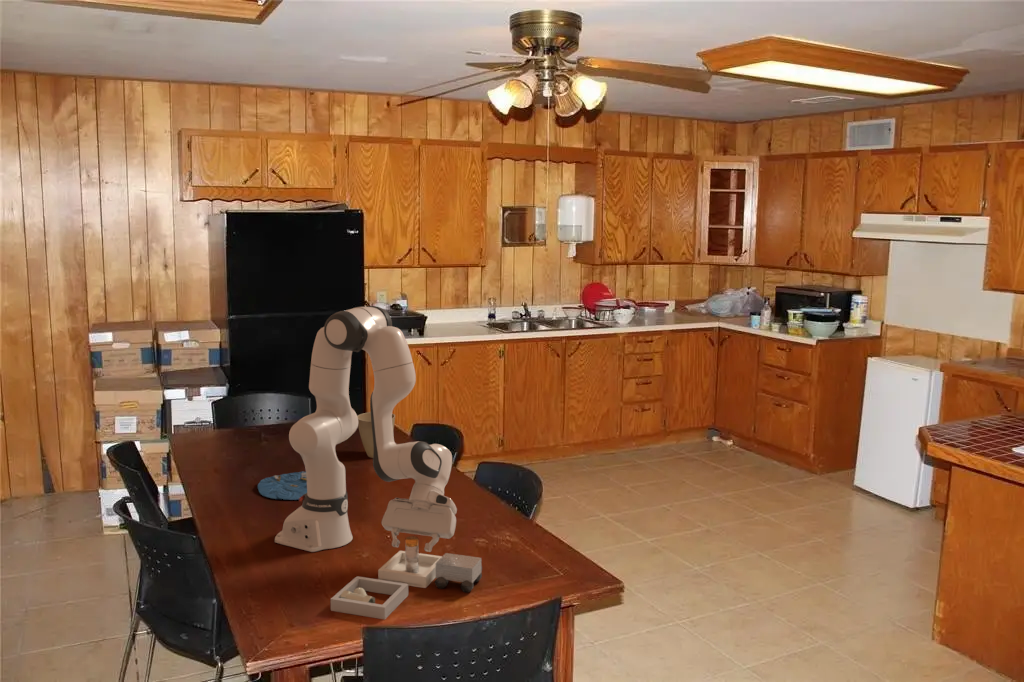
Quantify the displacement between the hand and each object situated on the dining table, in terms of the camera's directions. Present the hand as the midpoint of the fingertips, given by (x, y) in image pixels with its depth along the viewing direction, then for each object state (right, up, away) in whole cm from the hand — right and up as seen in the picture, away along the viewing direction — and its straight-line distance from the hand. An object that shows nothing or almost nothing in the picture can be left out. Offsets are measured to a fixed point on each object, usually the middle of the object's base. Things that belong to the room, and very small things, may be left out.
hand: (410, 548), depth 223 cm
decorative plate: (-47, +3, +72) cm, 86 cm away
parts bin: (-8, -10, -15) cm, 20 cm away
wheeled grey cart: (+14, -8, -1) cm, 16 cm away
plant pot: (-27, +10, +109) cm, 113 cm away
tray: (0, -7, +2) cm, 7 cm away
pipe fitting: (-10, -10, -16) cm, 22 cm away
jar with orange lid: (0, -6, +2) cm, 7 cm away
